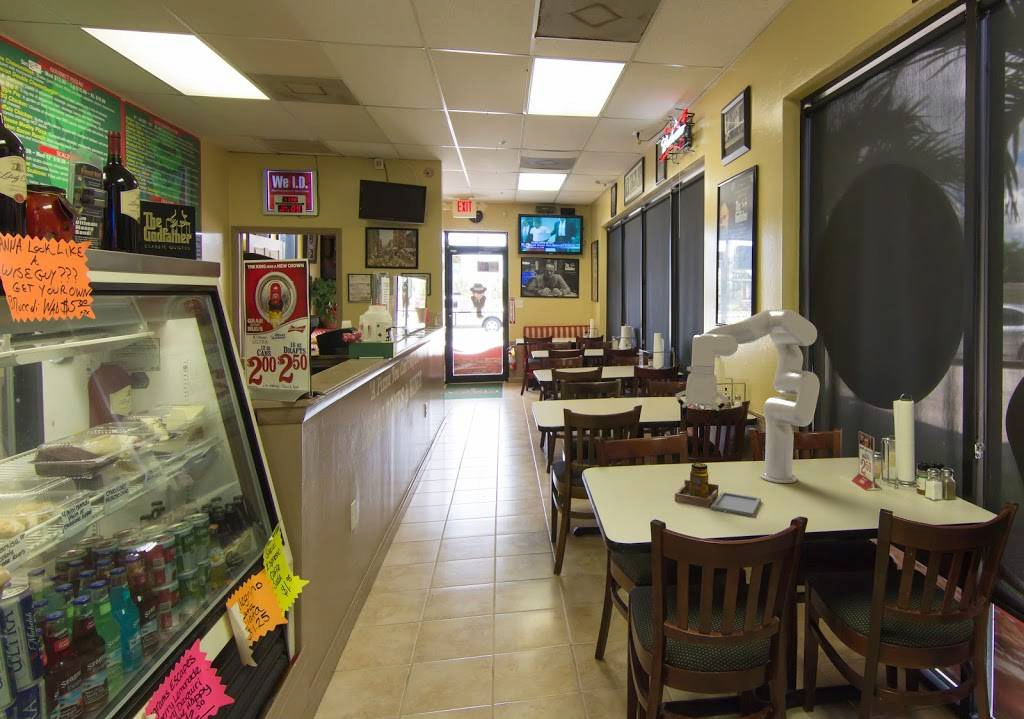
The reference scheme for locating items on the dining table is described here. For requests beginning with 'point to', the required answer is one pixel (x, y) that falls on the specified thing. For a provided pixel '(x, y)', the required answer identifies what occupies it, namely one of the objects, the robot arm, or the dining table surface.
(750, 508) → the tray
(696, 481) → the condiment
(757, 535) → the dining table surface
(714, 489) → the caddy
